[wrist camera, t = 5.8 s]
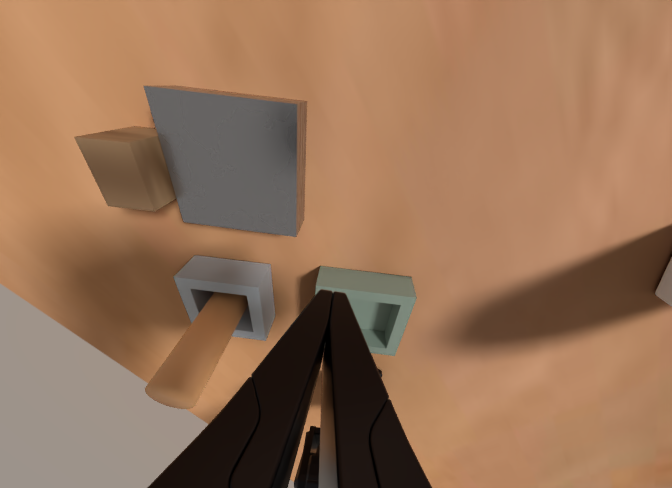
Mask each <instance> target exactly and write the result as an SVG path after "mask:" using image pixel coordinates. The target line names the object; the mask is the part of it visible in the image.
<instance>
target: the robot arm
mask: <svg viewBox="0 0 672 488" xmlns="http://www.w3.org/2000/svg"><path fill="white" fill-rule="evenodd" d="M324 346H325V347H324ZM323 352H324V354H323ZM322 358H323V365H322V394H321V425H320V428H317V427H316V426H310V431H309V432H306V438H305V444H304V449H303V454H302V457H301V460H300V464H299V467H298V470H297V474H296V477H295V481H294V488H432V487H431V485H430V483H429V481H428V479H427V477H426V475H425V473H424V471H423V469H422V467H421V465H420V463H419V461H418V459H417V457H416V455H415V453H414V451H413V449H412V447H411V445H410V443H409V441H408V439H407V437H406V435H405V432H404V430H403V428H402V426H401V423H400V421H399V419H398V417H397V414H396V412H395V410H394V407H393V405H392V402H391V400H390V399H388V398H389V396H388V393H387V391H386V388H385V386H384V384H383V381H382V379H381V377H382V371H381V370H378V369H377V367H376V364H375V362H374V359H373V357H372V355H371V352H370V350H369V347H368V345H367V343H366V340H365V338H364V335H363V333H362V331H361V328H360V326H359V323H358V321H357V319H356V316H355V314H354V311H353V309H352V307H351V304H350V302H349V299H348V297H347V295H346V293H343V292H337V291H334V292H332V291H331V290H324V289H321V290H319V291H318V293H317V294H316V295H315V296H314V298H313V299H312V300H311V301H310V303H309V304H308V305H307V306H306V308H305V309H304V310H303V311H302V312H301V314H300V315H299V316H298V317H297V319H296V320H295V321H294V322H293V324H292V325H291V326H290V327H289V329H288V330H287V331H286V332H285V334H284V335H283V336H282V337H281V339H280V340H279V341H278V342H277V344H276V345H275V346H274V347H273V349H272V350H271V351H270V352H269V354H268V355H267V356H266V357H265V358H264V360H263V361H262V362H261V363H260V365H259V366H258V367H257V368H256V370H255V371H254V372H253V373H252V377H249V378H248V379H247V381H246V382H245V383H244V384H243V386H242V387H241V388H240V389H239V391H238V392H237V393H236V394H235V395H234V396H233V398H232V399H231V400H230V401H229V402H228V404H227V405H226V406H225V407H224V408H223V409H222V411H221V412H220V413H219V414H218V415H217V416H216V417H215V418H214V419H213V420H212V421H211V422H210V424H209V425H208V426H207V427H206V428H205V429H204V430H203V431H202V432H201V433H200V434H199V436H198V437H196V438H195V440H194V441H193V442H192V443H191V444H190V445H189V446H188V447H187V448H186V449H185V450H184V451H183V452H182V453H181V454H180V455H179V456H178V457H177V458H176V459H175V460H174V461H173V462H172V463H171V464H170V465H169V466H168V467H167V468H166V469H165V470H164V471H163V472H162V473H161V474H160V475H159V476H158V478H156V479H155V480H154V482H153V483H152V484H151V485H150V486H149V487H148V488H287V487H288V484H289V480H290V477H291V473H292V469H293V466H294V462H295V458H296V455H297V451H298V447H299V444H300V440H301V436H302V433H303V429H304V425H305V422H306V418H307V414H308V411H309V407H310V403H311V400H312V396H313V392H314V389H315V385H316V381H317V378H318V374H319V370H320V367H321V362H322Z"/></svg>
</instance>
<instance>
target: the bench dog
mask: <svg viewBox="0 0 672 488" xmlns="http://www.w3.org/2000/svg"><path fill="white" fill-rule="evenodd" d="M74 138H75V140H76V142H77V144H78V146H79V148H80V150H81V152H82V154H83V156H84V158H85V160H86V162H87V164H88V166H89V168H90V170H91V172H92V174H93V176H94V178H95V181H96V183H97V185H98V187H99V189H100V191H101V193H102V195H103V197H104V199H105V201H106V203H107V205H108V206H111V207H119V208H128V209H137V210H145V211H154V212H155V211H157V210H158V209H160V208H162V207H163V206H165V205H167V204H168V203H170V202H172V201H173V200H175V199H176V195H175V191H174V188H173V184H172V181H171V178H170V174H169V171H168V167H167V164H166V161H165V157H164V154H163V150H162V147H161V144H160V140H159V137H158V133H157V130H156V129H154V128H145V127H135V126H133V127H128V128H122V129H116V130H111V131H105V132H99V133H94V134H88V135H83V136H77V137H74Z"/></svg>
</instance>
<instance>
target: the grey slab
mask: <svg viewBox="0 0 672 488" xmlns="http://www.w3.org/2000/svg"><path fill="white" fill-rule="evenodd" d="M144 89H145V93H146V96H147V99H148V103H149V106H150V110H151V113H152V116H153V120H154V123H155V127H156V130H157V133H158V137H159V140H160V144H161V147H162V150H163V154H164V157H165V161H166V164H167V167H168V171H169V174H170V178H171V181H172V184H173V188H174V191H175V195H176V198H177V201H178V205H179V208H180V212H181V215H182V218H183V222H187V223H194V224H202V225H210V226H217V227H225V228H232V229H240V230H247V231H255V232H263V233H270V234H278V235H285V236H293V237H297V234H298V232H299V230H300V228H301V225H302V223H303V221H304V203H305V163H306V124H307V101H301V100H292V99H284V98H275V97H267V96H259V95H250V94H242V93H233V92H225V91H217V90H208V89H200V88H191V87H183V86H144Z"/></svg>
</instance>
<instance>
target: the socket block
mask: <svg viewBox="0 0 672 488" xmlns="http://www.w3.org/2000/svg"><path fill="white" fill-rule="evenodd" d="M173 278H174V280H175V283H176V285H177V288H178V290H179V293H180V295H181V298H182V301H183V303H184V306H185V308H186V311H187V313H188V316H189V318H190V321H191V323H192V322H193V321H194V320H195V318H196V317H197V315H198V314H199V313H200V311H201V310H202V309H203V307H204V306H205V304H206V303H207V302H208V300H209V299H210V297H211V296H212V295H213V293H214V292H221V293H229V294H237V295H245V296H247V300H248V306H247V308H246V310H245V312H244V313H243V315H242V317H241V319H240V321H239V323H238V325H237V327H236V329H235V331H234V333H233V334H232V336H234V337H241V338H249V339H256V340H264V341H266V339H267V337H268V334H269V331H270V329H271V326H272V323H273V321H274V318H275V307H274V296H273V285H272V274H271V264H264V263H256V262H247V261H239V260H231V259H223V258H214V257H206V256H198V255H194V256H193V257H192V259H191V260H190V261H189V262H188V263H187V264H186V265H185V266H184V267H183V268H182V269H181V270H180V271H179V272H178V273H177V274H176V275H175V276H174V277H173Z"/></svg>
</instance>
